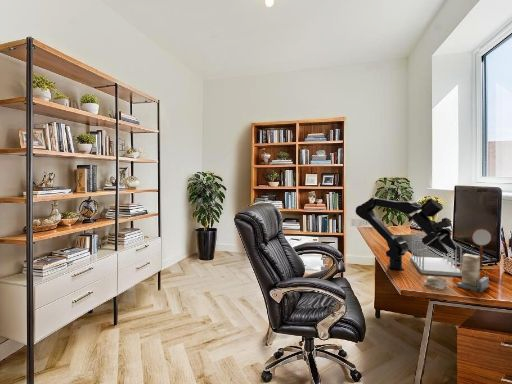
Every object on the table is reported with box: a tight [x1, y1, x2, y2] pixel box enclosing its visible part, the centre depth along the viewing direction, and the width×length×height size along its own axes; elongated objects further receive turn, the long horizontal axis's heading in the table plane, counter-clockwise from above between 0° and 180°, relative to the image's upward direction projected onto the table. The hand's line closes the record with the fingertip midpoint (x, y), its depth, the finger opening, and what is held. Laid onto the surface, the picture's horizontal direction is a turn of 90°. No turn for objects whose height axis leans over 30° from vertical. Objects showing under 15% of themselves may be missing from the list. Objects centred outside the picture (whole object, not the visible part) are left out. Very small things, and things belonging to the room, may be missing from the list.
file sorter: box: [409, 231, 463, 277], centre depth 150 cm, size 25×17×16 cm
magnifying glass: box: [470, 227, 493, 269], centre depth 146 cm, size 9×2×20 cm, turn 76°
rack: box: [456, 276, 490, 293], centre depth 124 cm, size 8×9×4 cm
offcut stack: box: [423, 275, 448, 290], centre depth 126 cm, size 7×5×4 cm
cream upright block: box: [461, 253, 481, 286], centre depth 125 cm, size 5×4×13 cm
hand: (451, 251), depth 130 cm, fingers open, 9 cm apart
